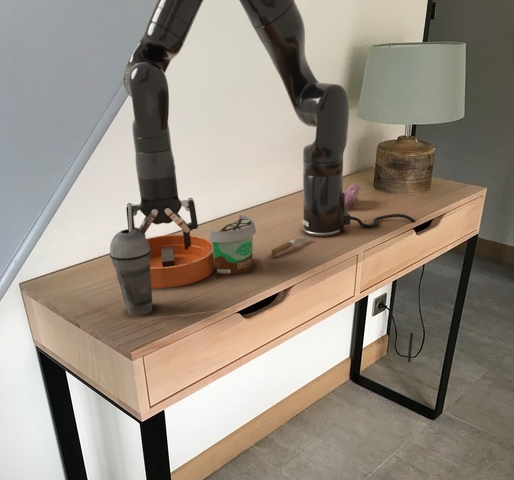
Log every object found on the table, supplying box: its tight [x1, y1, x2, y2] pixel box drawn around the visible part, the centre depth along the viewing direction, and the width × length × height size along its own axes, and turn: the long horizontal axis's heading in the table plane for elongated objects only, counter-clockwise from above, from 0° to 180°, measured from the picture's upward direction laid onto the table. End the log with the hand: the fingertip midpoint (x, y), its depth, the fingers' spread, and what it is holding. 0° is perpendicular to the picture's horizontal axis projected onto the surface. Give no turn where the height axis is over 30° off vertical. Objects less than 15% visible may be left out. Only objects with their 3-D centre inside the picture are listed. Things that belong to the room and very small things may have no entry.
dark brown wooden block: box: [161, 246, 175, 267], centre depth 124 cm, size 5×15×3 cm, turn 9°
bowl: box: [146, 234, 216, 289], centre depth 124 cm, size 20×20×4 cm
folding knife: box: [271, 235, 310, 258], centre depth 132 cm, size 14×2×2 cm, turn 138°
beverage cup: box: [109, 205, 153, 316], centre depth 103 cm, size 7×7×20 cm
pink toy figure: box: [343, 183, 360, 210], centre depth 158 cm, size 10×5×7 cm, turn 168°
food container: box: [209, 214, 257, 277], centre depth 120 cm, size 12×6×10 cm, turn 151°
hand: (166, 250), depth 123 cm, fingers open, 8 cm apart
